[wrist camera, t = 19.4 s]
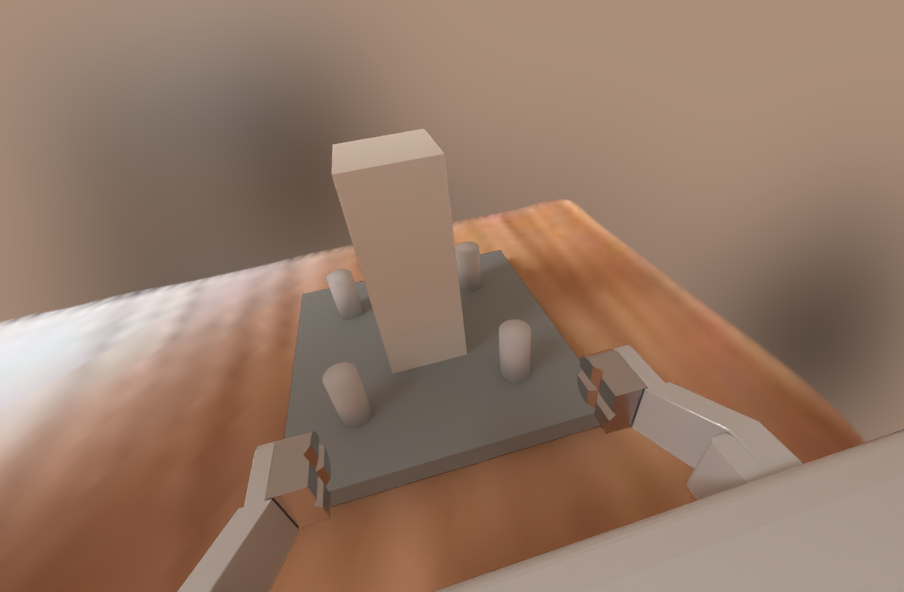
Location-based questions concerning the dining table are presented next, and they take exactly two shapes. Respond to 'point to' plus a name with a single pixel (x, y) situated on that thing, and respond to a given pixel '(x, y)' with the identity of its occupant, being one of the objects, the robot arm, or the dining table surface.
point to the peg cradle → (431, 383)
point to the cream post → (404, 243)
